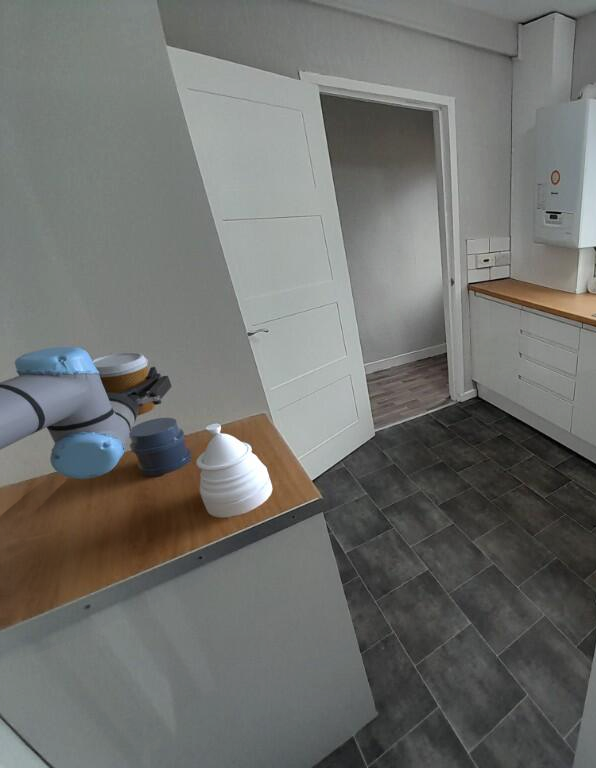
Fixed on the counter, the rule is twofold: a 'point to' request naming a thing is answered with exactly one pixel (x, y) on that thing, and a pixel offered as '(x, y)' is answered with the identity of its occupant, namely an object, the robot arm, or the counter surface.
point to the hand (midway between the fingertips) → (129, 376)
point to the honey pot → (231, 476)
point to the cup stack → (159, 446)
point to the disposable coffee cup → (123, 374)
